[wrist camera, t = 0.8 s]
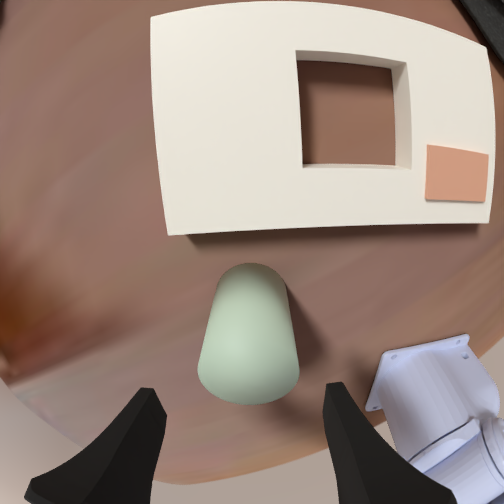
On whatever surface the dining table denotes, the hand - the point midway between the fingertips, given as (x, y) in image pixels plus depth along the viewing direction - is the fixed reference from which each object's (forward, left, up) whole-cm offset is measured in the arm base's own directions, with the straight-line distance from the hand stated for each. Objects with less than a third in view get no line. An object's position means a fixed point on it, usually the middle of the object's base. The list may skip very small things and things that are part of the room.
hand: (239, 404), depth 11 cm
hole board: (-6, -11, -8) cm, 15 cm away
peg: (0, 0, -8) cm, 8 cm away
